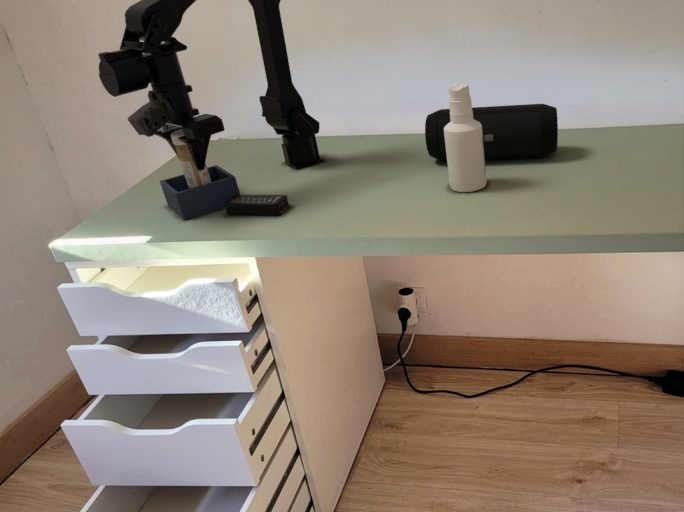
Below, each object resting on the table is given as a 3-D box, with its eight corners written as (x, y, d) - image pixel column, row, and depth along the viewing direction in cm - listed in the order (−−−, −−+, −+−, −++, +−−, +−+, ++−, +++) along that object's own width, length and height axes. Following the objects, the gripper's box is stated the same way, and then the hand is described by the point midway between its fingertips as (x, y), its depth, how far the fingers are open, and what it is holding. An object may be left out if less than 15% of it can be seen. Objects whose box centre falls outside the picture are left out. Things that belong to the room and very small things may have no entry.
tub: (224, 189, 144) (216, 164, 141) (242, 202, 136) (235, 176, 133) (168, 205, 139) (159, 180, 136) (184, 220, 131) (175, 194, 128)
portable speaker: (428, 168, 142) (421, 118, 137) (437, 152, 150) (431, 104, 145) (555, 163, 137) (554, 111, 132) (558, 146, 146) (557, 96, 140)
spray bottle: (491, 180, 133) (483, 80, 123) (480, 193, 128) (471, 90, 118) (457, 179, 135) (446, 81, 126) (445, 192, 130) (433, 91, 120)
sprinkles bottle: (220, 199, 137) (198, 130, 129) (196, 206, 135) (173, 136, 127) (212, 193, 140) (191, 125, 132) (190, 200, 138) (167, 131, 130)
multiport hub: (238, 205, 135) (235, 194, 133) (290, 206, 132) (287, 194, 130) (226, 215, 131) (222, 203, 130) (279, 216, 128) (276, 203, 127)
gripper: (98, 89, 125) (129, 175, 134) (155, 98, 115) (185, 190, 123) (155, 75, 132) (181, 157, 141) (213, 81, 122) (237, 169, 130)
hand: (194, 168), depth 134 cm, fingers closed on sprinkles bottle, 4 cm apart
